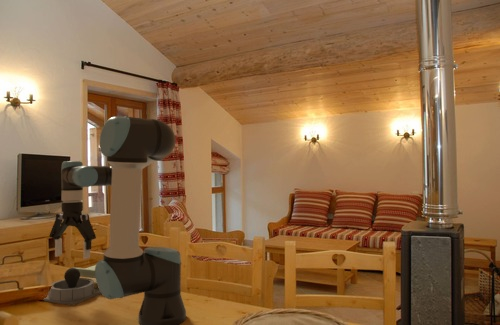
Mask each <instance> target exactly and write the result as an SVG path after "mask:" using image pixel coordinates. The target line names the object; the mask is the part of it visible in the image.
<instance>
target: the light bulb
mask: <svg viewBox="0 0 500 325" xmlns="http://www.w3.org/2000/svg"><path fill="white" fill-rule="evenodd" d="M76 268H77V267H75V268H73V267H70V268H68V269H67V270H66V271H65V272H64V276H63V279H64V280H65V281H66V282H67V284H68V287H69V289H73V288H76V286H77V282H78V280H79V278H81V277H80V272H79V270H78V269H76Z"/></svg>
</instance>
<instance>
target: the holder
mask: <svg viewBox="0 0 500 325" xmlns="http://www.w3.org/2000/svg"><path fill="white" fill-rule="evenodd" d="M51 284H52V287H51V289H50V291H49V290H48V293H47V294H46V295H47V297H46V298H44V299H43V300H44V301H43V302H49V303H54V304H59V305H61V304H62V305H68V306H75V305H78V304H80V303H82V302H85V301H87V300H89V299H92V298H93V297H96V296H98V295H100V294H101V295H102V293H101V292H100V290H99V289H95V281H94V280H93V279H92V278H88V277H80V278H79V280H78V282H77V286H76V288H73V289H69V287H68V284H67V282H66V281H65V279H59V280H57V281H54V282H51Z"/></svg>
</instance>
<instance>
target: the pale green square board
mask: <svg viewBox="0 0 500 325" xmlns="http://www.w3.org/2000/svg"><path fill="white" fill-rule="evenodd" d="M95 267H96V264H95V265H91V266H89V267H86V268H85V267H83V268H82V267H72V268H76V269H78V270H79V272H80V278H88V279H96V277H95Z"/></svg>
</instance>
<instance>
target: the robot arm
mask: <svg viewBox="0 0 500 325" xmlns="http://www.w3.org/2000/svg"><path fill="white" fill-rule="evenodd" d="M175 145H176V136H175V132H174V131H173V129H172V127H171V126H170V125H168V124H167V123H166V122H165V121H162V120H160V119H155V118H151V119H150V118H141V117H133V116H132V117H131V116H112V117H110V118H108V119H107V121H105V123H104V125H103V126H102V129H101V132H100V136H99V147H100V148H99V150H100V152H101V154H102V156H105V157H106V162H107V163H108V164H109V165H84V163H83V162H82V161H81V160H75V161H73V160H69V161H68V160H67V161H63V162H62V163H61V170H60V173H61V178H60V179H61V199H60V200H61V213H56V214H55V220H54V223H53V226H52V228H51V230H50V233H49V238H52V239H53V247H54V257H55V258H57V257H60V256H63V239H62V236H63V234H64V233H65V231H66V230H67V228H68V227H75V228H76V229H77V230H78V232H79V233H80V235H81V237H82V238H83V241H82V242H83V243H82V244H83V245H82V246H83V252H82V253H83V254H82V256H83V257H82V258H83V260H87V259H90V258H91V250H92V241H93V240H95V239H96V238H97V236H96V234H95V230H94V229H93V226H92V223H91V221H90V214H82V212H83V211H84V203H83V198H84V196H83V195H84V188H89V187H101V186H102V187H105V186H108V187H109V186H111V187H110V188H111V189H110V215H109V240H108V241H109V244H108V245H109V246H108V247H107V248H106V249H105V250H104V251H103V256H102V258H103V259H100V260H99V261H97V262H96V264H95V265H96V267H95V277H96V278H95V282H96V284H97V287H98V290H100V292H101V295H102V296H103V297H104V298H106V299H108V300H116V299H123V298H125V297H130V296H133V295H138V294H143V300H142V303H141V306H140V309H139V311H138V323H139V324H140V325H180V324H182V323H184V322H185V321H186V318H187V310H186V307H185V304H184V301H183V297H182V292H181V287H182V286H181V285H182V284H181V283H182V282H181V281H182V280H181V279H182V278H181V274H182V273H181V272H182V268H181V267H182V266H181V265H182V259H181V258H182V256H181V252H180V251H179V250H178V249H175V248H171V247H162V246H149V247H145V248H144V250H143V249H142V248H141V247H140V223H141V222H140V221H141V198H142V178H143V176H142V171H143V169H145V168H146V167H149V165H151V164H153V163H154V162H159V161H162V160H164V159H165V158H168V156H169V155H171V153H173V151H174V149H175V147H176V146H175Z"/></svg>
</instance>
